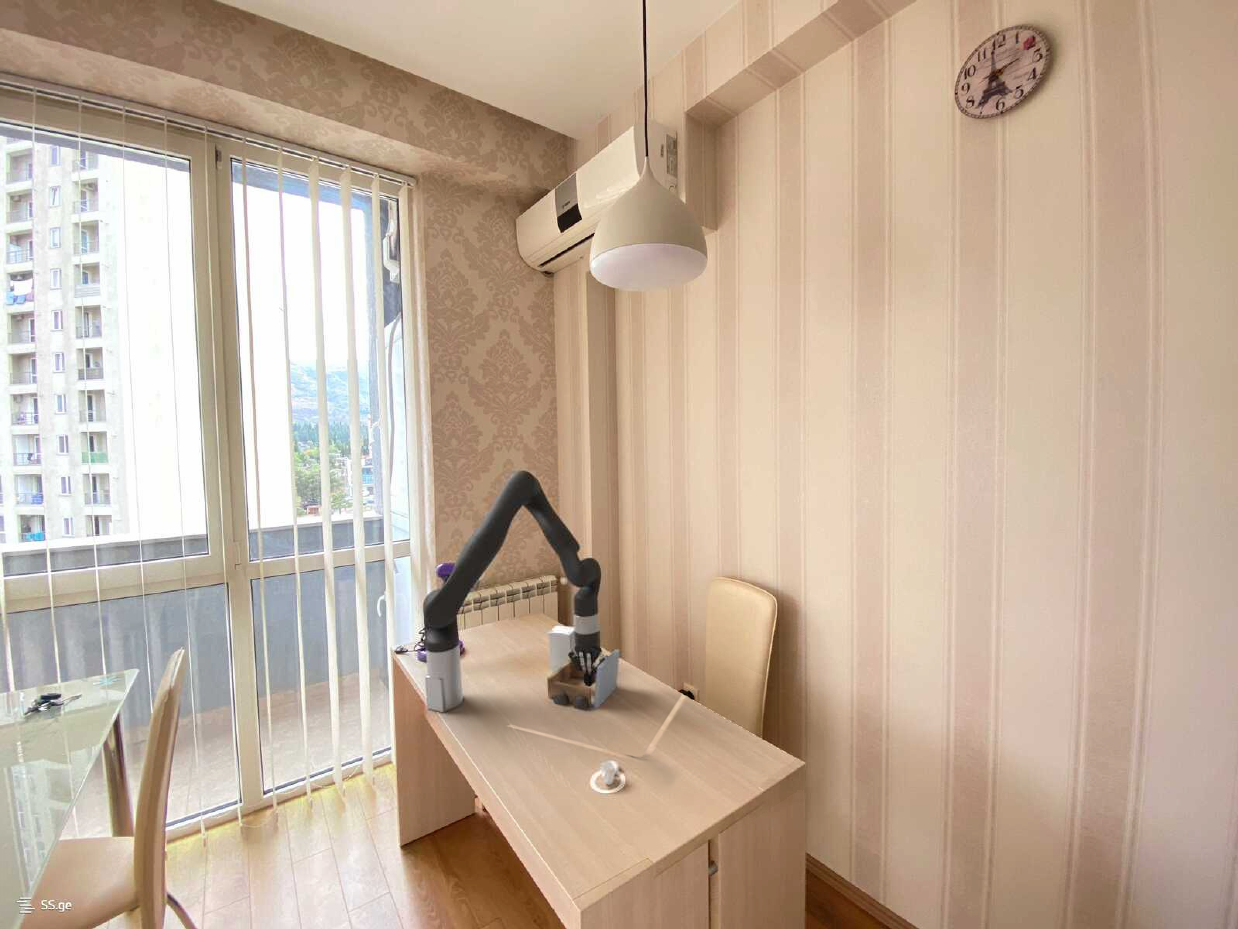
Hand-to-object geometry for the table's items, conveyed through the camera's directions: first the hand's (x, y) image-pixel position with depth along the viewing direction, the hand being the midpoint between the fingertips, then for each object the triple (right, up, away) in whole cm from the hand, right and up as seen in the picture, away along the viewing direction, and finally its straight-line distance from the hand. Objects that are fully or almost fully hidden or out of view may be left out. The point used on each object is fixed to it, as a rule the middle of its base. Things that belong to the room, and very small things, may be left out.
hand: (589, 685), depth 149 cm
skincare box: (-8, -3, +15) cm, 18 cm away
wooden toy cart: (-2, -4, +1) cm, 4 cm away
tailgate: (+5, -3, -2) cm, 6 cm away
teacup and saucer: (+9, -6, -35) cm, 37 cm away
